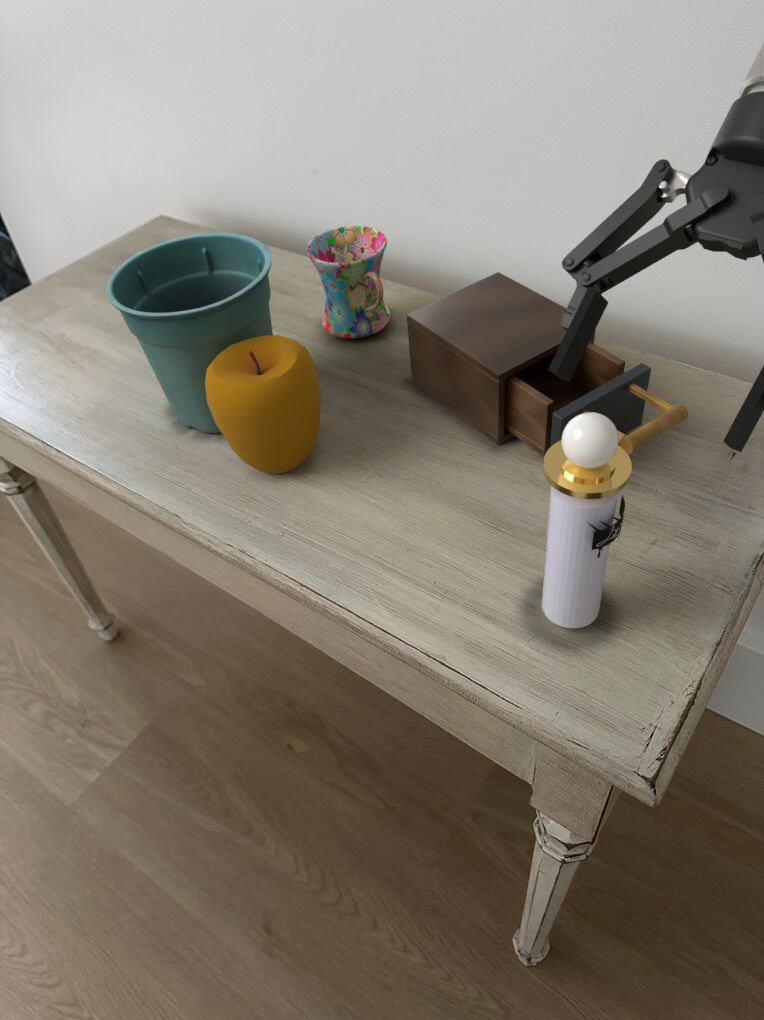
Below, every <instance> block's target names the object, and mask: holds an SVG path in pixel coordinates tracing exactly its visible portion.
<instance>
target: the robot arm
mask: <svg viewBox="0 0 764 1020" xmlns="http://www.w3.org/2000/svg"><path fill="white" fill-rule="evenodd" d="M738 95H739V98H737V99H736V100H735V101H733V103H732V104H731V106H730V108H729V109H728V112H727V114H726V116H725V118H724V120H723V121H722V124H721V125H720V128H719V130H718V132H717V134H716V136H715V138H714V139H713V142H712V144H711V146H710V147H709V149H708V153H707V156H706V158H705V161H704V163H703V164H702V165H701V166H700V168H699V169H698V170H696V172H694V173H693V174H689V173H686V172H683V171H681V170H678V169H675V168H673V167H672V165H671V163H670V161H669V160H667V159H664V158H663V159H658V160H657V161H656V162H655V163H654V164H653V166H652V167H651V169H650V170H649V172H648V174H647V175H646V177H645V178H644V181H643V182H642V184H641V186H640V187H638V189H636V191H634V192H633V193H632V194H631V195H630V196H629V197H628V198H627V199H625V201H623V202H622V203H621V205H619V206H618V207H617V208H616V209H615V210H614V211H613V212H611V214H610V215H608V216H607V217H606V218H605V219H604V220H603V221H602V222H601V223H600V224H599V225H597V226H596V228H594V229H593V230H592V231H591V232H590V233H589V234H588V235H587V236H586V237H585V238H584V239H583V240H582V241H581V242H579V243H578V244H577V245H576V246H575V247H574V248H573V249H572V250H571V251H570V252H569V253H567V255H566V256H565V257H563V258H562V260H561V266H562V268H563V270H564V271H566V273H567V274H568V275H569V276H570V277H571V278H572V279H573V280H574V281H575V283H576V287H575V290H574V292H573V294H572V296H571V297H570V300H569V302H568V304H567V307H565V308H566V310H565V313H564V315H563V317H562V319H561V327H562V328H564V329H565V330H566V331H567V332H566V334H565V336H564V338H563V340H562V342H561V344H560V346H559V348H558V350H557V352H556V354H555V356H554V358H553V360H552V363H551V365H550V367H549V369H548V370H549V371H550V372H552V373H553V374H555V375H556V376H558V377H559V378H561V379H563V380H566V381H568V382H570V379H571V377H572V375H573V373H574V371H575V369H576V367H577V365H578V363H579V361H580V359H581V357H582V355H583V353H584V351H585V349H586V347H587V345H588V343H589V341H590V339H591V337H592V335H593V333H594V331H595V329H596V330H597V327H598V325H599V323H600V321H601V319H602V317H603V315H604V312H605V311H606V309H607V306H608V305H609V301H608V300H607V299H606V298H605V297H604V296H603V295H602V294H604V293H605V292H608V291H609V290H611V289H612V288H614V287H616V286H618V285H620V284H621V283H623V282H625V281H626V280H628V279H630V278H632V277H633V276H635V275H637V274H638V273H640V272H642V271H644V270H646V269H647V268H649V267H651V266H653V265H655V264H656V263H657V262H659V261H661V260H663V259H665V258H666V257H668V256H670V255H672V254H674V253H675V252H677V251H682V250H686V249H688V248H690V247H691V246H693V245H695V244H697V243H698V244H699V245H700V246H701V247H702V249H703V250H705V251H706V250H707V251H710V252H713V253H715V252H716V253H718V252H719V253H728V254H729V255H731V256H732V257H734V258H736V259H739V260H743V261H747V260H748V259H750V258H757V257H759V256H761V259H762V262H763V264H764V42H763V43H762V45H761V46H760V48H759V50H758V52H757V54H756V57H755V58H754V60H753V62H752V64H751V65H750V67H749V69H748V72H747V74H746V75H745V77H744V79H743V81H742V83H741V85H740V87H739V91H738ZM680 195H684V196H685V202H686V204H685V205H684V206H682V207H681V208H679V209H677V210H675V211H674V212H672V213H670V214H669V215H667V216H666V217H665V218H664V220H663V222H662V223H660V224H659V225H657V226H655V227H654V228H652V229H650V230H649V231H647V232H645V233H644V234H642V235H640V236H639V237H637V238H635V239H634V240H632V241H631V242H629V243H627V244H625V243H626V242H628V240H630V239H631V238H632V237H633V236H634V235H635V234H637V232H638V231H639V230H641V229H642V228H643V227H644V226H646V225H647V223H649V222H650V221H651V220H653V218H654V217H655V216H656V215H657V214H658V213H659V212H660V211H661V210H662V209H663V207H664V206H665V205H666V204H672V203H673V202H675V200H676V198H677V197H679V196H680ZM624 244H625V245H624ZM595 332H596V331H595ZM763 414H764V365H763V366H762V367H761V369H760V371H759V373H758V375H757V377H756V379H755V380H754V383H753V384H752V386H751V388H750V389H749V392H748V394H747V396H746V398H745V399H744V401H743V403H742V405H741V406H740V409H739V411H738V412H737V413H736V416H735V418H734V420H733V422H732V424H731V425H730V427H729V429H728V431H727V432H726V435H725V437H724V439H723V440H722V442H723V443H724V444H725V445H726V446H727V447H729V449H731V450H734V451H736V452H739V453H742V452H743V450H744V449H745V446H746V445H747V443H748V441H749V439H750V437H751V435H752V434H753V432H754V430H755V428H756V426H757V424H758V422H759V421H760V419H761V417H762V415H763Z"/></svg>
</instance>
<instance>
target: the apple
mask: <svg viewBox="0 0 764 1020" xmlns="http://www.w3.org/2000/svg"><path fill="white" fill-rule="evenodd" d="M319 381H320V380H319V377H318V374H317V371H316V366H315V362H314V360H313V357H312V355H311V354H310V352H309V350H308V349H307V348H306V347H305V346H304V345H303V344H301V342H299V341H298V340H296V339H294V338H290V337H286V336H283V335H280V334H279V335H278V334H273V335H265V336H259V337H254V338H250V339H247V340H244V341H241V342H238V343H235V344H232V345H230V346H229V347H228V348H226V349H225V350H223V351H222V352H221V353H220V354H219V355H217V357H216V358H215V359H214V360H213V362H212V363H211V364H210V365H209V367H208V368H207V371H206V379H205V388H206V396H207V403H208V406H209V408H210V411H211V413H212V415H213V418H214V420H215V423H216V425H217V426H218V428H219V430H220V431H221V432H220V433H221V435H222V436H223V437H224V439H225V440H226V442H227V444H228V445H229V446H230V448H231V450H232V451H233V452H234V454H235V455H236V456H238V458H239V459H241V461H242V462H244V463H245V464H246V465H248V466H249V467H251V468H253V469H255V470H257V471H259V472H262V473H265V474H268V475H269V474H270V475H276V474H281V473H282V474H283V473H287V472H289V471H291V470H293V469H295V468H297V467H300V465H302V464H303V463H304V462H305V461H306V460H308V458H309V456H310V455H311V454H312V452H313V449H314V448H315V447H316V443H317V439H318V436H319V431H320V421H321V387H320V382H319Z"/></svg>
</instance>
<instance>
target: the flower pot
mask: <svg viewBox="0 0 764 1020" xmlns="http://www.w3.org/2000/svg"><path fill="white" fill-rule="evenodd" d="M271 267H272V255H271V252H270V250H269V248H268V247H267V246H266V245H265V244H264V243H263V242H261V241H259V240H258V239H256V238H254V237H251V236H248V235H244V234H240V233H235V232H206V233H196V234H190V235H185V236H180V237H176V238H173V239H168V240H166V241H162V242H159V243H157V244H153V245H152V246H149V247H147V248H145V249H143V250H141V251H139V252H136V254H134V255H132V256H130V257H129V258H127V259H126V260H125V261H123V262H122V263H121V264H120V265H119V266H118V267H117V268H116V269H115V270H114V272H112V274H111V275H110V277H109V279H108V281H107V282H106V283H107V284H106V286H105V287H106V288H105V293H106V297H107V299H108V300H109V302H110V303H111V305H112V306H113V307H114V308H115V309H117V310H118V311H119V312H120V314H121V316H122V318H123V320H124V322H125V324H126V326H127V328H128V330H129V332H130V333H131V334H132V335H133V336H134V337H136V339H137V341H138V343H139V345H140V347H141V349H142V351H143V353H144V355H145V357H146V359H147V361H148V364H149V365H150V367H151V369H152V371H153V373H154V375H155V377H156V379H157V381H158V383H159V385H160V387H161V389H162V391H163V393H164V394H163V395H164V396H165V398H166V399H167V402H168V404H169V406H170V408H171V410H172V412H173V414H174V416H175V418H176V420H177V421H178V422H179V423H180V424H181V425H182V426H184V427H185V428H190V427H191V428H194V429H196V430H198V431H199V432H201V433H205V434H206V433H207V434H219V433H221V431H220V430H219V428H218V426H217V425H216V423H215V420H214V418H213V415H212V413H211V411H210V408H209V406H208V403H207V396H206V388H205V379H206V371H207V368H208V367H209V365H210V364H211V363H212V362H213V360H214V359H215V358H216V357H217V355H219V354H220V353H221V352H222V351H223V350H225V349H226V348H228V347H229V346H230V345H232V344H235V343H238V342H241V341H244V340H247V339H250V338H254V337H259V336H265V335H274V333H273V325H272V317H271V310H270V309H271V308H270V302H271V301H270V300H271V296H272V295H271V285H270V278H269V276H270V275H269V273H270V271H271Z"/></svg>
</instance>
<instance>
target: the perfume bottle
mask: <svg viewBox="0 0 764 1020" xmlns="http://www.w3.org/2000/svg"><path fill="white" fill-rule="evenodd" d="M542 462H543V463H542V472H543V476H544V478H545V479H546V481H547V483H548V484H549V485H550V491H549V501H548V502H549V503H548V516H547V517H548V518H547V528H546V529H547V530H546V543H545V553H544V554H545V555H544V568H543V581H542V593H541V594H542V596H541V597H542V598H541V609H542V611H543V614H544V616H545V617H546V618H547V619H548V620H549V621H550V622H551V623H553V624H555V625H557V626H560V627H562V628H565V629H581V628H584V627H587V626H589V625H591V624H592V623H593V622H594V621H595V620H597V618H598V616H599V613H600V609H601V602H602V596H603V590H604V583H605V577H606V571H607V566H608V558H609V552H610V546H611V543H613V542H614V541H615V540H616V539H617V538H618V541H619V540H620V537H619V536H621V535H620V534H621V531H622V527H623V522H624V516H625V510H626V500H625V497H624V495H623V494H621V498H620V503H619V509H618V514H619V517H620V518H619V517H616V510H617V509H616V508H617V502H618V497H619V493H620V491H622V490H623V489H624V488H625V487H626V486H627V485H628V483H629V481H630V480H631V475H632V469H633V465H632V464H633V463H632V460H631V458H630V455H629V454H627V453H626V451H625V450H623V449H622V448H621V447H620V442H619V435H618V431H617V429H616V427H615V425H614V424H613V422H612V421H611V420H610V419H609V418H607V417H606V416H604V415H602V414H599V413H595V412H587V413H582V414H579V415H577V416H576V417H574V418H572V419H571V420H570V421H569V422H568V424H567V425H566V426H565V428H564V430H563V433H562V438H561V441H559V442H557V443H555V444H554V445H552V446H551V447H550V448H549V449H548V451H547V452H546V454H545V456H543V461H542ZM614 520H615V521H616V522H615V521H614Z"/></svg>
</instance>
